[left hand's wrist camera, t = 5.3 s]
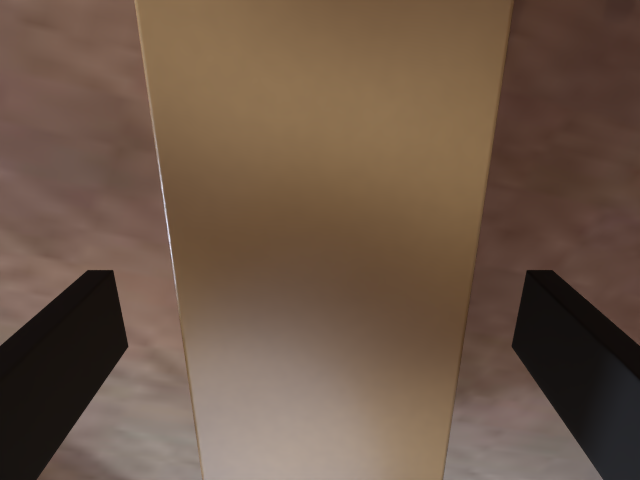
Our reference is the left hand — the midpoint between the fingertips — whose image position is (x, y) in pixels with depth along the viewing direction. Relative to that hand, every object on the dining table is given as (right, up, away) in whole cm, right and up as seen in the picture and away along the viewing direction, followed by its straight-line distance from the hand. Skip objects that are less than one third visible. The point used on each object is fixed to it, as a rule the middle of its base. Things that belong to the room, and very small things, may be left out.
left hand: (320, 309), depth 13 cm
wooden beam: (0, +28, -9) cm, 29 cm away
